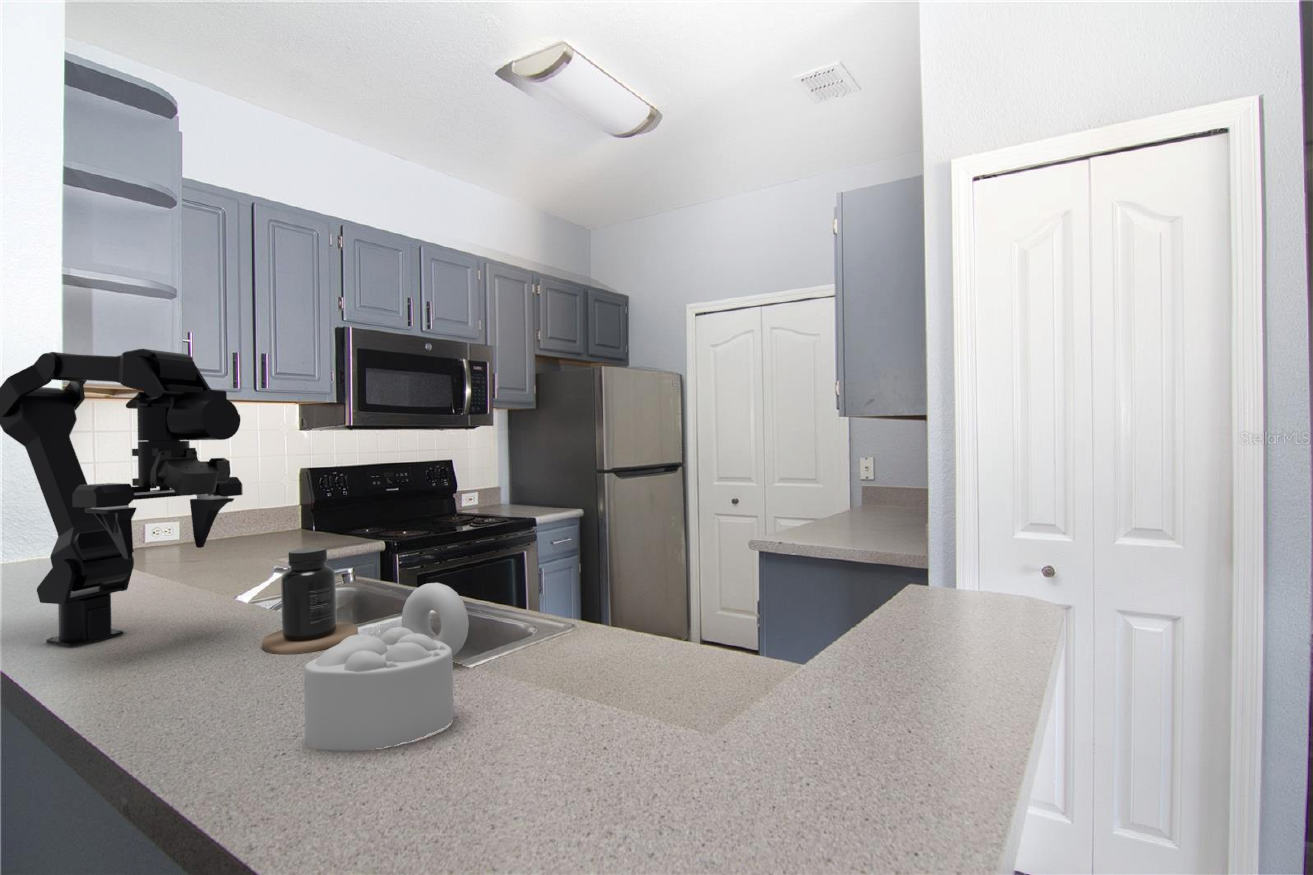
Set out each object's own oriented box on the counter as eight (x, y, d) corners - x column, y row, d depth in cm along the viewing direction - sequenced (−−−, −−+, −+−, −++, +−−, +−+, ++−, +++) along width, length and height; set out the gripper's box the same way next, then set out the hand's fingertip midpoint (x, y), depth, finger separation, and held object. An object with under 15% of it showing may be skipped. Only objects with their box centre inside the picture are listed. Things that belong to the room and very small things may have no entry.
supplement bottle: (338, 625, 95) (337, 544, 95) (335, 637, 89) (333, 551, 89) (285, 631, 92) (284, 548, 92) (278, 644, 86) (277, 555, 86)
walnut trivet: (241, 648, 88) (241, 642, 88) (317, 624, 99) (317, 619, 99) (304, 658, 83) (304, 652, 83) (376, 632, 94) (376, 626, 94)
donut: (475, 662, 81) (474, 583, 81) (456, 671, 78) (454, 589, 78) (416, 652, 85) (415, 577, 85) (395, 660, 82) (394, 582, 82)
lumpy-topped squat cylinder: (347, 704, 69) (345, 623, 69) (467, 703, 68) (466, 622, 68) (290, 752, 58) (289, 657, 58) (432, 750, 58) (431, 655, 58)
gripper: (122, 441, 77) (124, 569, 77) (267, 439, 95) (268, 545, 95) (69, 442, 81) (70, 564, 81) (217, 440, 99) (218, 541, 99)
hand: (165, 552), depth 89 cm, fingers open, 9 cm apart
